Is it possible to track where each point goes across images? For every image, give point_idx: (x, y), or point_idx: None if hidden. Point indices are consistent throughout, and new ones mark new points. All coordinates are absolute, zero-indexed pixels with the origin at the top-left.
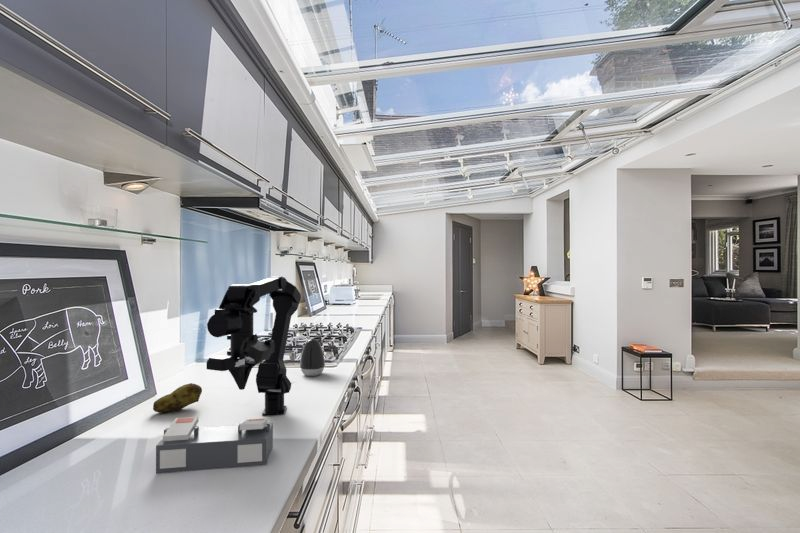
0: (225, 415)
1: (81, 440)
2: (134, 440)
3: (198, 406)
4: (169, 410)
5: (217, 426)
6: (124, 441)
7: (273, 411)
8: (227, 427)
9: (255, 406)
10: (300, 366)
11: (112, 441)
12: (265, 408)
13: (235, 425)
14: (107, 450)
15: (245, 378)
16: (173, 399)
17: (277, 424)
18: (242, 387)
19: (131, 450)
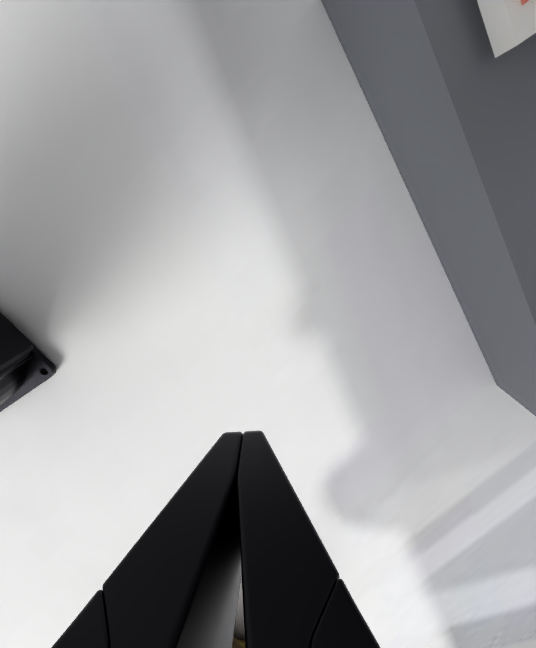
0: (150, 492)
1: (465, 640)
2: (432, 554)
3: None
4: (235, 639)
5: (520, 277)
6: (444, 568)
7: (5, 329)
8: (527, 199)
9: (9, 467)
10: None
11: (452, 589)
12: (13, 387)
13: (483, 172)
14: (506, 555)
15: (206, 559)
16: None
17: (81, 219)
18: (268, 445)
19: (494, 509)
